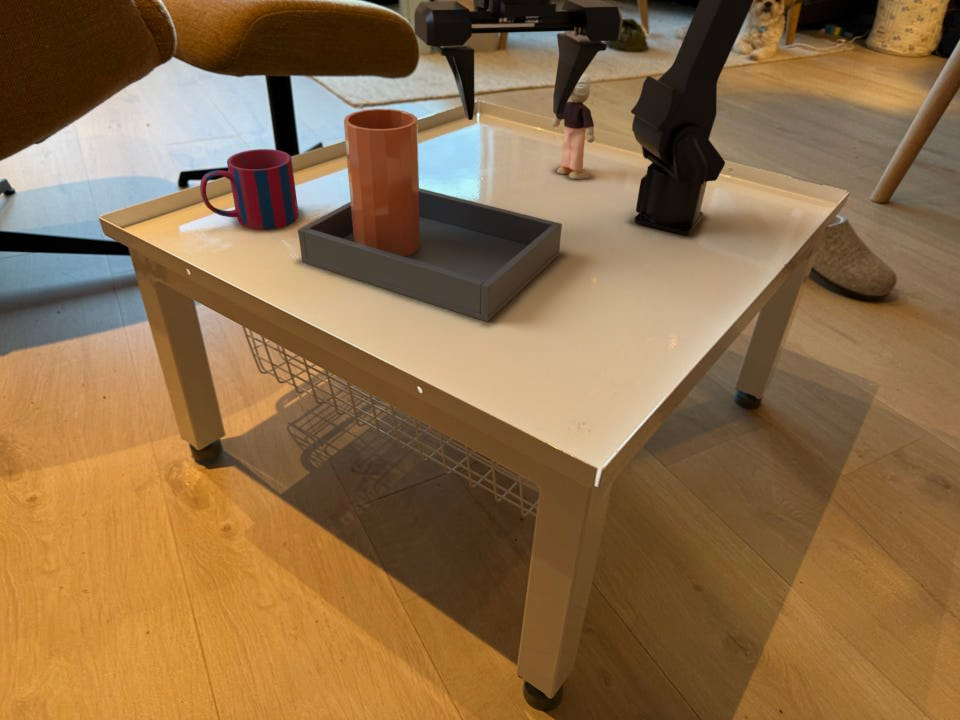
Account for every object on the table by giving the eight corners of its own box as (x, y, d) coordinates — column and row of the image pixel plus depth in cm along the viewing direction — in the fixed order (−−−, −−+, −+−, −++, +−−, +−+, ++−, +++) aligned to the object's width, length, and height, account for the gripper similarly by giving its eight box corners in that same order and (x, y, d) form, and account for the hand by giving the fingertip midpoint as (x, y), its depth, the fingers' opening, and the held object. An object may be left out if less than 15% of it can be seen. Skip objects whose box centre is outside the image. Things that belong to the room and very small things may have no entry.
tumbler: (408, 227, 77) (403, 106, 69) (429, 253, 72) (427, 126, 64) (347, 236, 74) (336, 112, 67) (365, 264, 69) (355, 133, 62)
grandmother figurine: (601, 176, 93) (615, 76, 85) (584, 184, 90) (596, 81, 83) (556, 161, 97) (565, 65, 90) (538, 168, 95) (546, 69, 87)
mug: (305, 224, 78) (298, 165, 74) (213, 240, 74) (200, 178, 70) (290, 202, 83) (282, 145, 79) (202, 216, 79) (189, 157, 75)
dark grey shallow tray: (559, 255, 74) (562, 223, 71) (487, 322, 62) (489, 287, 60) (391, 209, 82) (389, 180, 80) (301, 261, 71) (297, 229, 69)
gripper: (585, -73, 69) (569, 90, 78) (399, -75, 64) (405, 99, 73) (637, -63, 60) (612, 120, 69) (427, -65, 56) (429, 131, 65)
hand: (513, 116), depth 69 cm, fingers open, 9 cm apart
